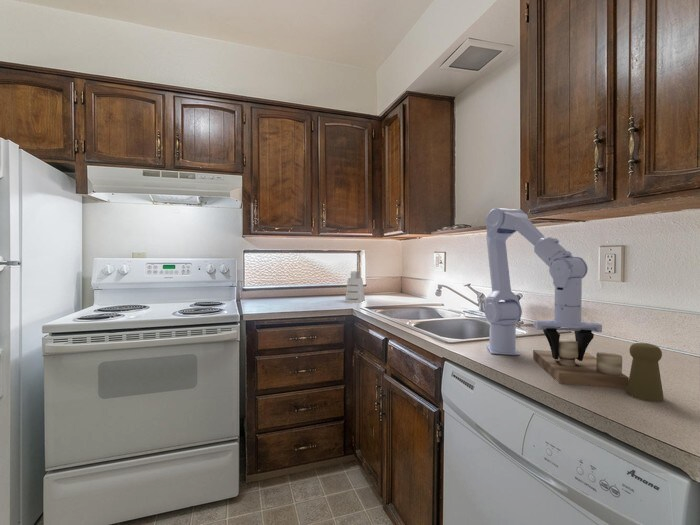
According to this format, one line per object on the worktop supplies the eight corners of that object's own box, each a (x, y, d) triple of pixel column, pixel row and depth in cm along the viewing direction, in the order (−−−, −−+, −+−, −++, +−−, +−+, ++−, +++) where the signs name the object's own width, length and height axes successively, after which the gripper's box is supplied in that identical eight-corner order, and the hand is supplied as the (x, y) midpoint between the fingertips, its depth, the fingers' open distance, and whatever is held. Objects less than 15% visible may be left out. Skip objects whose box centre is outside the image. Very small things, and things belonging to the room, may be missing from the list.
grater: (344, 303, 220) (344, 271, 220) (349, 301, 230) (349, 271, 230) (360, 303, 217) (360, 271, 216) (365, 301, 227) (365, 271, 226)
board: (533, 358, 100) (533, 336, 100) (587, 361, 97) (587, 338, 97) (559, 383, 80) (559, 355, 80) (628, 388, 77) (628, 359, 77)
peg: (553, 364, 90) (553, 339, 90) (574, 365, 89) (573, 339, 89) (559, 369, 85) (559, 343, 85) (581, 370, 84) (581, 344, 84)
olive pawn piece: (626, 388, 77) (627, 339, 77) (663, 395, 74) (663, 343, 73) (626, 396, 73) (626, 344, 72) (665, 404, 69) (665, 349, 69)
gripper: (541, 306, 84) (540, 361, 85) (608, 308, 81) (608, 365, 82) (532, 302, 91) (532, 354, 92) (594, 304, 88) (593, 357, 88)
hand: (567, 359), depth 87 cm, fingers closed on peg, 5 cm apart
